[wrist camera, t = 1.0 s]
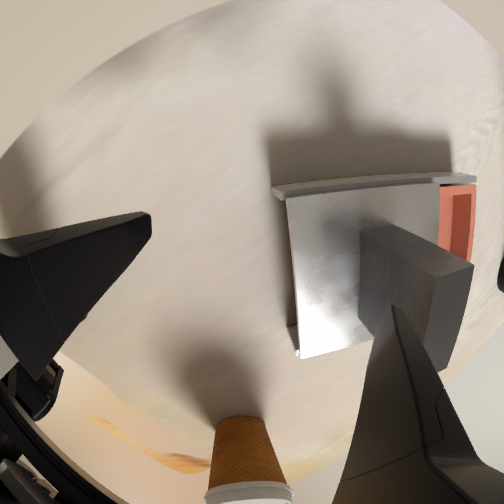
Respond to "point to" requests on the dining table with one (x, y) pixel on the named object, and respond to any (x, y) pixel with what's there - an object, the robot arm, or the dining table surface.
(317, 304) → the lid
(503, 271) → the wine bottle
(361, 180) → the grey box tray
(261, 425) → the disposable coffee cup
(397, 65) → the dining table surface
